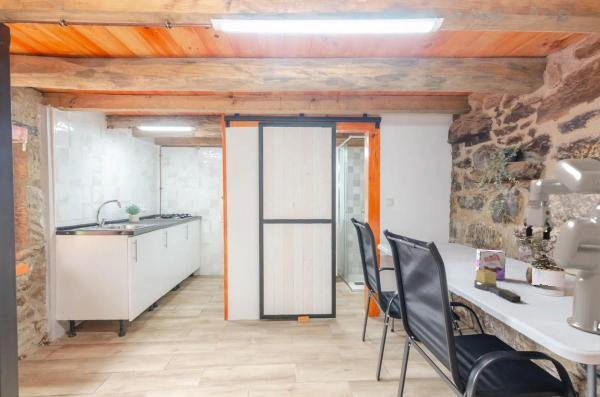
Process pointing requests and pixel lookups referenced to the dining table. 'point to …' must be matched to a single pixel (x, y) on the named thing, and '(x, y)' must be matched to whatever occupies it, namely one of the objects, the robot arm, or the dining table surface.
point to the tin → (529, 275)
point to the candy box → (491, 262)
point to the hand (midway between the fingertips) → (537, 238)
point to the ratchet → (498, 291)
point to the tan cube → (485, 276)
